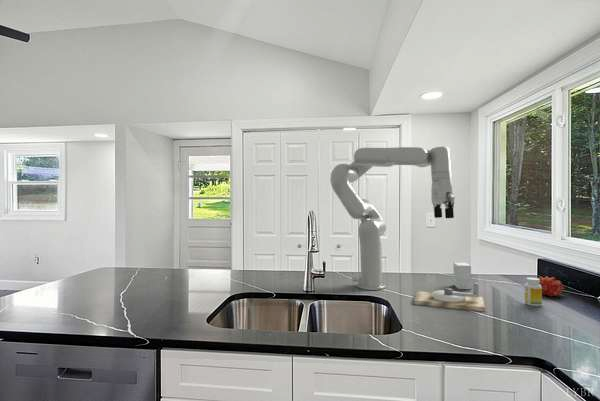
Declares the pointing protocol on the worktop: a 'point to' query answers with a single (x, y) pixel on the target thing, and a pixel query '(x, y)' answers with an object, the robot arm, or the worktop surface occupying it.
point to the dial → (454, 294)
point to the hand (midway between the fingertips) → (443, 217)
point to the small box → (462, 275)
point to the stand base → (468, 304)
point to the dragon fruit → (550, 286)
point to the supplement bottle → (533, 292)
